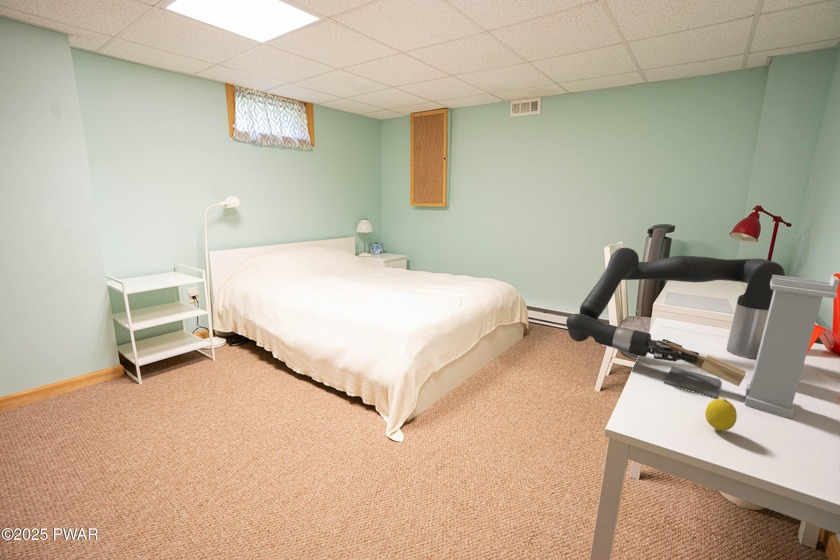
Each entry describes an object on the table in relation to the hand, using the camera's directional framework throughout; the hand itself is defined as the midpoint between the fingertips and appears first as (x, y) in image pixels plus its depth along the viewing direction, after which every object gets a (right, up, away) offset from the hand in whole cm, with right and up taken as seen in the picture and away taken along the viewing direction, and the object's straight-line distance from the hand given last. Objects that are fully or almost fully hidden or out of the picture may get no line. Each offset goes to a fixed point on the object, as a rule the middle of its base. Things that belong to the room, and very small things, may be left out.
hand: (697, 358), depth 109 cm
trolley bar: (+1, -2, 0) cm, 3 cm away
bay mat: (0, -7, +2) cm, 8 cm away
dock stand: (+12, -10, -9) cm, 18 cm away
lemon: (-11, -12, -21) cm, 27 cm away
